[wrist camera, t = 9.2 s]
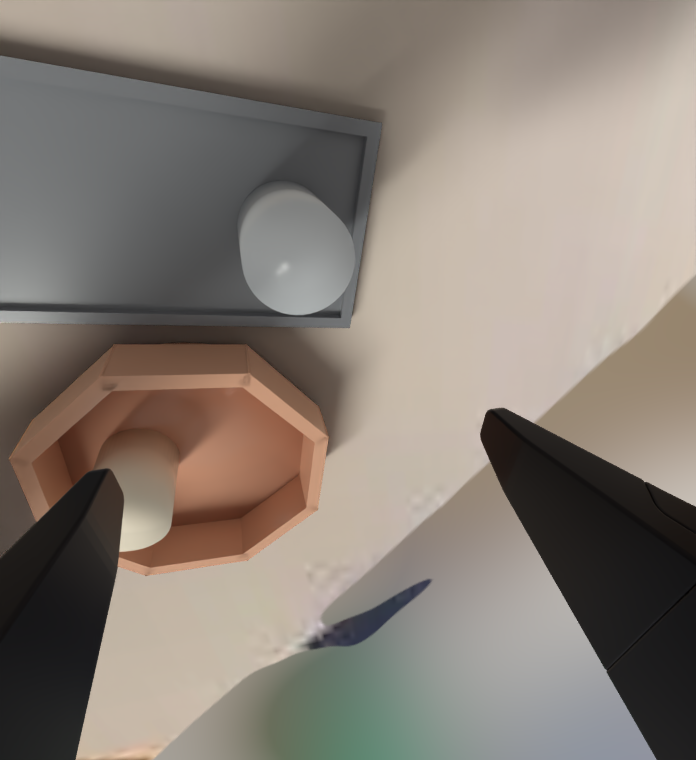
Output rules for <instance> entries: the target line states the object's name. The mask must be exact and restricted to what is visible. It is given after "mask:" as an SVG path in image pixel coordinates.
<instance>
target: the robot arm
mask: <svg viewBox="0 0 696 760" xmlns="http://www.w3.org/2000/svg"><path fill="white" fill-rule="evenodd" d="M480 437H481V441H482V444H483V446H484V448H485V451H486V453H487V455H488V457H489V460H490V462H491V464H492V467H493V469H494V471H495V473H496V476H497V478H498V480H499V482H500V485H501V487H502V489H503V491H504V493H505V495H506V497H507V498H508V500H509V502H510V504H511V505H512V507H513V509H514V510H515V512H516V514H517V516H518V517H519V519H520V521H521V523H522V525H523V526H524V528H525V530H526V532H527V533H528V535H529V537H530V539H531V540H532V542H533V544H534V546H535V547H536V549H537V551H538V553H539V554H540V556H541V558H542V560H543V561H544V563H545V565H546V567H547V568H548V570H549V572H550V574H551V575H552V577H553V579H554V581H555V582H556V584H557V586H558V587H559V589H560V591H561V593H562V595H563V596H564V598H565V600H566V602H567V603H568V605H569V607H570V609H571V610H572V612H573V614H574V616H575V617H576V619H577V621H578V623H579V624H580V626H581V628H582V629H583V631H584V633H585V635H586V636H587V638H588V640H589V642H590V643H591V645H592V647H593V649H594V650H595V652H596V654H597V656H598V657H599V659H600V661H601V663H602V664H603V666H604V668H605V669H606V670H607V673H608V675H609V677H610V679H611V681H612V682H613V684H614V686H615V688H616V689H617V691H618V693H619V695H620V696H621V698H622V700H623V702H624V703H625V705H626V707H627V709H628V710H629V712H630V714H631V715H632V717H633V719H634V721H635V722H636V724H637V726H638V728H639V730H640V731H641V733H642V735H643V737H644V738H645V740H646V742H647V743H648V745H649V747H650V749H651V750H652V752H653V754H654V756H655V757H656V759H657V760H696V507H695V506H693V505H691V504H689V503H687V502H685V501H683V500H681V499H679V498H677V497H675V496H673V495H671V494H669V493H667V492H665V491H663V490H661V489H659V488H657V487H656V486H654V485H652V484H650V483H648V482H644V481H643V480H642V479H640V478H638V477H636V476H634V475H632V474H630V473H628V472H627V471H625V470H623V469H620V468H619V467H617V466H615V465H613V464H611V463H609V462H607V461H605V460H603V459H602V458H600V457H598V456H596V455H594V454H592V453H590V452H588V451H586V450H584V449H582V448H580V447H578V446H576V445H574V444H573V443H571V442H569V441H567V440H565V439H563V438H561V437H559V436H557V435H555V434H553V433H551V432H550V431H548V430H546V429H544V428H542V427H540V426H538V425H536V424H534V423H532V422H530V421H528V420H527V419H525V418H523V417H521V416H519V415H517V414H515V413H513V412H511V411H509V410H507V409H505V408H495V409H490V410H488V411H487V412H486V415H485V418H484V422H483V425H482V429H481V433H480ZM123 509H124V494H123V491H122V489H121V487H120V485H119V483H118V481H117V479H116V477H115V475H114V473H113V471H112V470H111V469H109V468H104V469H98V470H91V471H89V472H87V473H86V474H85V475H84V476H83V477H82V478H81V479H80V480H79V481H78V482H76V483H75V484H74V485H73V486H72V487H71V488H70V489H69V490H68V491H67V492H66V493H65V494H64V495H63V496H62V497H61V498H60V499H59V500H58V501H57V502H56V503H55V504H54V505H53V506H52V507H51V508H50V509H49V510H48V511H47V512H46V513H45V514H44V515H43V516H42V517H41V518H40V519H39V520H38V521H37V522H36V523H35V524H34V525H33V526H32V527H31V528H30V529H29V530H28V531H27V532H26V533H25V534H24V535H23V536H22V537H21V538H20V539H19V540H18V541H17V542H16V543H15V544H14V545H13V546H12V547H11V548H10V549H9V550H8V551H7V552H6V553H5V554H4V555H3V556H2V557H1V558H0V760H75V759H76V755H77V750H78V746H79V741H80V737H81V732H82V728H83V723H84V718H85V714H86V709H87V705H88V700H89V696H90V691H91V687H92V682H93V678H94V673H95V669H96V664H97V660H98V655H99V651H100V646H101V642H102V637H103V633H104V628H105V624H106V619H107V615H108V610H109V606H110V601H111V597H112V592H113V588H114V583H115V578H116V573H117V568H118V560H119V550H120V540H121V530H122V519H123Z"/></svg>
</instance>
